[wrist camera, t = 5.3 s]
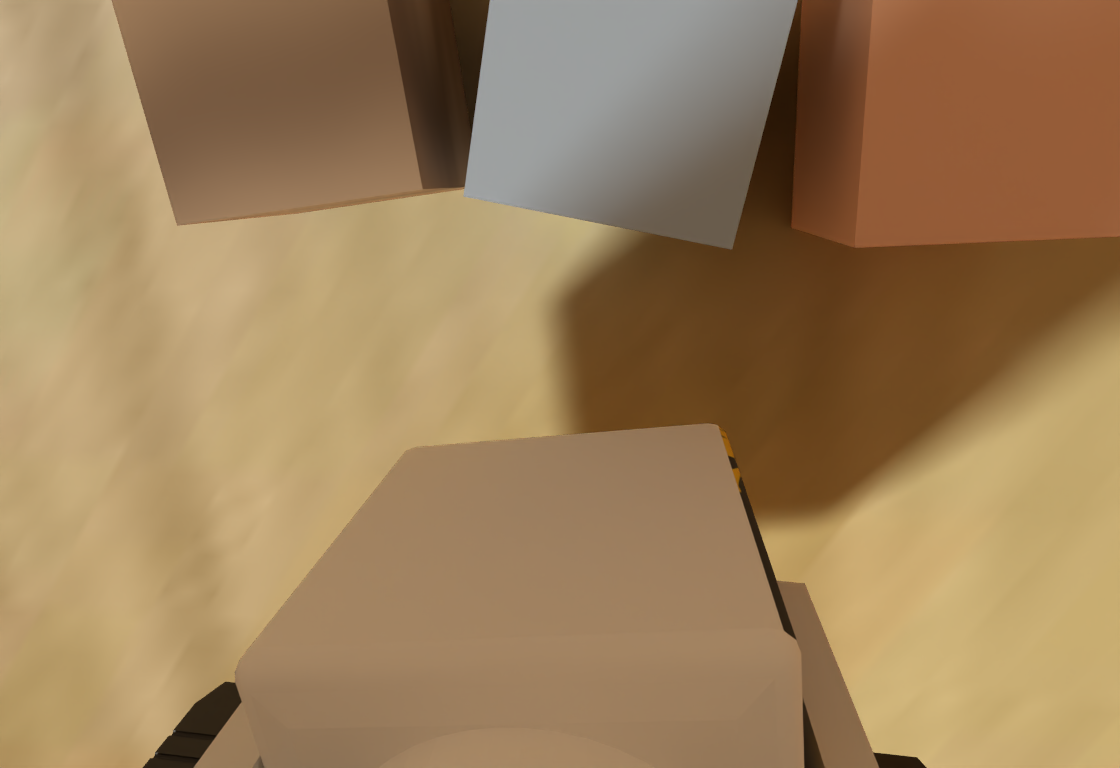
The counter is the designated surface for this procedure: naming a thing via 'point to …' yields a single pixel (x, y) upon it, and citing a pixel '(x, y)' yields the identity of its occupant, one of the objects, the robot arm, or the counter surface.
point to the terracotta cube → (957, 121)
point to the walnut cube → (298, 102)
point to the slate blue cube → (627, 110)
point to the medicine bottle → (538, 617)
